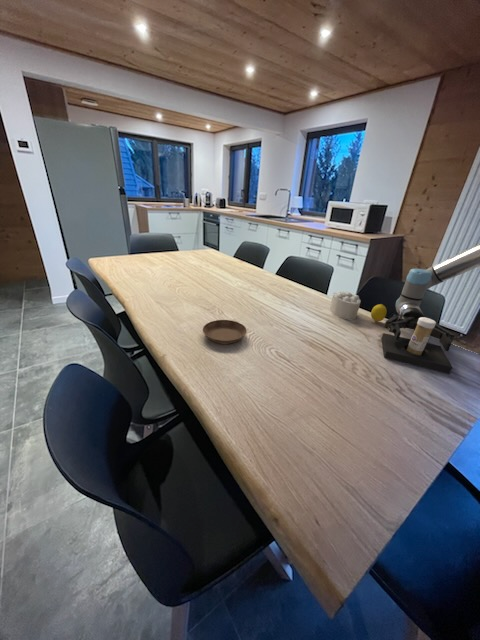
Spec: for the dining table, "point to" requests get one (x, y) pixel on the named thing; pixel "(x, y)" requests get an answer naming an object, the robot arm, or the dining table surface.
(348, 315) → the lumpy-topped squat cylinder
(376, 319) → the lemon
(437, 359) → the dock pad
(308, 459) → the dining table surface
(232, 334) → the saucer
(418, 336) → the sprinkles bottle
